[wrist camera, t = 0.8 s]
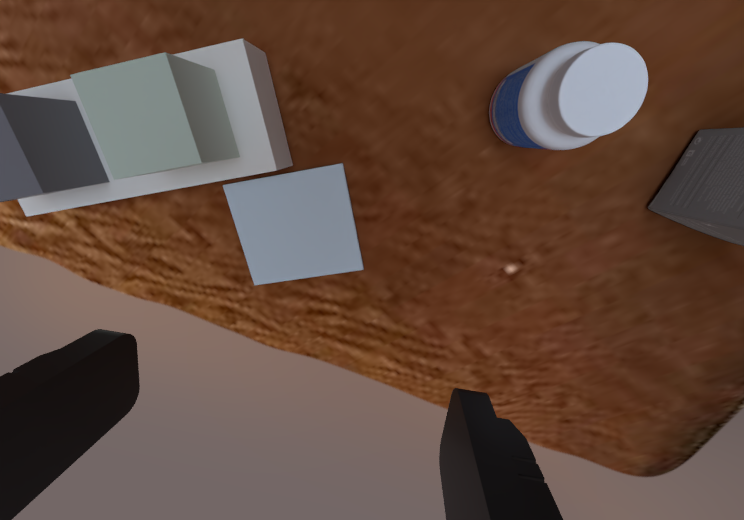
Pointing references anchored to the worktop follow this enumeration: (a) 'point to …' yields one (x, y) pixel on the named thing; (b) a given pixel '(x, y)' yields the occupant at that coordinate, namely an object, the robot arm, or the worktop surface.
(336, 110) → the worktop surface
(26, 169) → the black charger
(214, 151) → the block
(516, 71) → the pill bottle
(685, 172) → the skincare box
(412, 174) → the worktop surface
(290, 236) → the blue tile
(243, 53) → the power strip
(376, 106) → the worktop surface
